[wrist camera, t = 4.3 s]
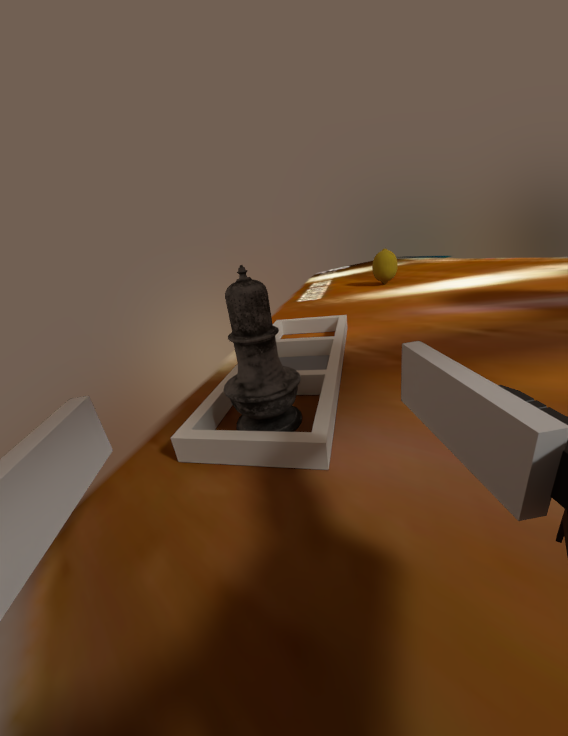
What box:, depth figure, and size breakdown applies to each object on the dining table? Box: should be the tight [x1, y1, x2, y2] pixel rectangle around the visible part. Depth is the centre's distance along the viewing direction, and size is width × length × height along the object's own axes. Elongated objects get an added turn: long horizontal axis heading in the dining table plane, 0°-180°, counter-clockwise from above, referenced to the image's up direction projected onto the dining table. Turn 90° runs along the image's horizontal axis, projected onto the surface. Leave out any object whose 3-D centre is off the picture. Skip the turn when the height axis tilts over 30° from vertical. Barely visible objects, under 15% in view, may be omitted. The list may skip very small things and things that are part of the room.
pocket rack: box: [171, 315, 347, 470], centre depth 32 cm, size 29×10×2 cm, turn 167°
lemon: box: [373, 249, 397, 284], centre depth 71 cm, size 6×6×8 cm
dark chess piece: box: [224, 265, 302, 432], centre depth 22 cm, size 6×6×12 cm
